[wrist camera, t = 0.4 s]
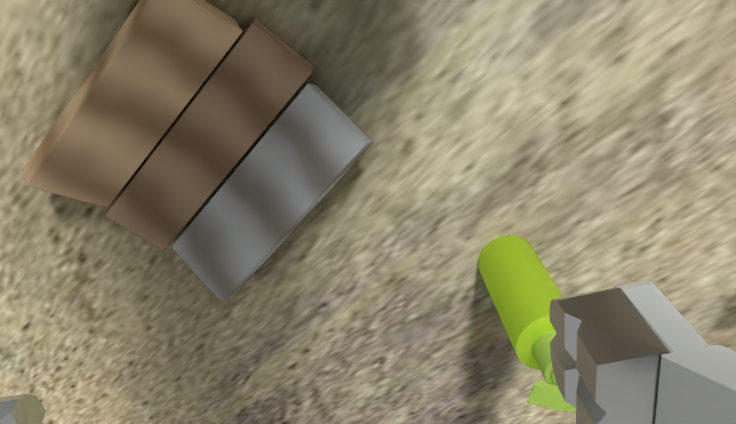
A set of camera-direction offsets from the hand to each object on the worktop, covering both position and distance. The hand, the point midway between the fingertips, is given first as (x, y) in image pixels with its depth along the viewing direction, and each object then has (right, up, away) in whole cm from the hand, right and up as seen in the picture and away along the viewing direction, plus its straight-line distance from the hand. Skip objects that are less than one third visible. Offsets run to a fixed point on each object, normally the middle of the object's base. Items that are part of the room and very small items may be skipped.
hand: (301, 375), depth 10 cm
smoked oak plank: (-18, +12, +40) cm, 46 cm away
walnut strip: (-13, +9, +45) cm, 48 cm away
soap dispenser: (+15, -2, +54) cm, 56 cm away
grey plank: (-7, +4, +46) cm, 47 cm away
